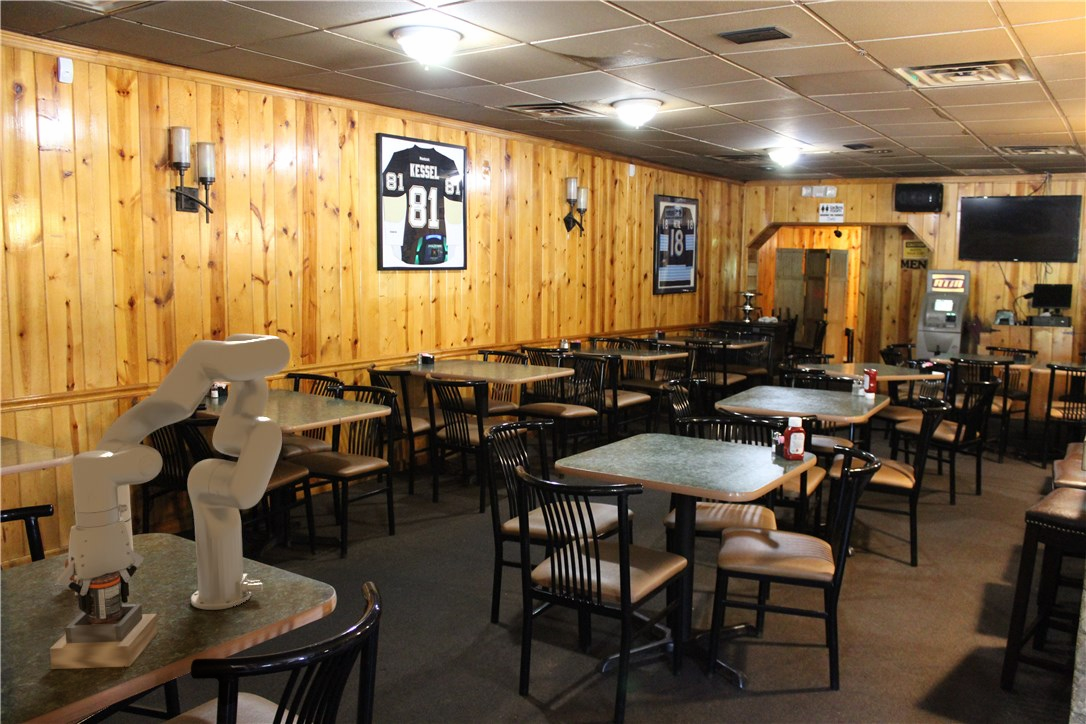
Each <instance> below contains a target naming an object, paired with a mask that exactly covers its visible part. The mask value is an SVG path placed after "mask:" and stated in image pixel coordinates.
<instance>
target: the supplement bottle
mask: <svg viewBox="0 0 1086 724" xmlns="http://www.w3.org/2000/svg"><path fill="white" fill-rule="evenodd" d="M88 593H89V594H90V595H91V608H92V613H91V614H88V619H89V621H90V622H91V623H94V624H105V623H110V622H113V621H115V620H117V619H119V618H120V617H121V616H122V605H123V602H122V597H121V583H120V574H119V572H112V573H106V574H104V575H102V576H99V577H96V578H93V579H91V581H90V585H89V588H88Z"/></svg>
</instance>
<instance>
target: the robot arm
mask: <svg viewBox="0 0 1086 724" xmlns="http://www.w3.org/2000/svg"><path fill="white" fill-rule="evenodd" d="M290 358H291V351H290V347H289V345H288V344H287V342H286V341H285V340H283V339H282V338H281V337H278V336H275V335H268V334H267V335H266V334H264V335H263V334H256V333H255V334H252V333H233V334H231V335H229V336H227V337H225V338H224V340H222V341H221V340H211V339H209V340H208V339H204V340H197V341H194V342H193V343H191V344H190V345H189V346H188V347H187V348H186V349H185V350H184V352H183V353H182V355H181V356H180V357H179V359H178V360H177V361H176V363H175V364H174V365H173V367H172V368H171V370H170V371H169V372H168V373H167V375H166V376H165V377H164V379H163V380H162V381H161V383H160V384H159V386H158V387H157V388H156V390H155V391H154V392H152V394H151V395H149V396H147V397H145V398H144V399H142V400H140V401H139V402H137V403H136V404H135V405H133V406H132V407H130V408H129V409H128V410H126V411H125V412H124V413H122V414H121V415H120V416H119V417H118V418H117V419H115V421H113V423H112V424H111V425H110V426H109V428H108V429H107V430H106V432H105V433H104V434H103V436H102V437H101V438H100V439H99V441H98V442H97V445H96V447H95V448H94V450H91V451H85V452H84V451H83V452H81V453H78V454H76V455H74V456H73V458H72V459H71V463H70V465H71V468H70V469H71V479H72V491H73V503H74V504H73V505H74V514H75V515H74V517H75V518H74V519H75V525H71V528H70V533H69V542H68V558H69V565H68V566H67V568H66V569H63V571H62V573H61V574H60V575H59V576H58V578H57V581H56V582H58V583H59V584H61V585H63V586H64V587H66V588H68V589H69V588H70V589H72V590H71V591H74V593H75V592H77V593H78V596H77V602H78V609H79V611H81V612H84V613H86V614H87V615H88V614H91V613H92V608H91V595H90V594H89V593H88V588H89V585H90V581H91V579H93V578H96V577H99V576H102V575H104V574H106V573H112V572H119V574H120V583H121V597H122V604H126V603H128V597H129V596H130V588H129V587H130V586H129V582H131V579H132V577H133V576H134V574H135V572H137V570H138V567H140V565H141V564H142V563H143V561H144V560H145V558H144V557H143V556H142V555H141V554H139V552H138V553H137V552H136V551H135V550H134V549H133V550H131V546H130V540H129V536H128V532H127V528H126V524H125V521H124V519H123V518H122V517H121V513H122V512H124V511H127V506H126V504H124V505H121V504H119V490H118V487H119V486H123V485H129V486H130V485H139V484H144V483H147V482H149V481H151V480H153V479H155V478H156V477H157V476H158V475H159V473H160V472H161V470H162V469H163V468H162V467H163V458H162V456H161V455H162V454H160V452H159V451H158V450H157V449H155V448H154V447H151V446H149V445H146V444H141V442H142V441H143V440H144V439H145V438H146V437H147V436H149V435H151V434H152V433H154V432H155V431H156V430H159V429H160V428H163V427H165V426H169V425H172V424H175V423H178V422H181V421H183V420H185V419H187V418H189V417H191V416H192V415H193V414H194V413H195V411H196V410H197V408H198V406H199V405H200V404H201V402H202V401H203V399H204V398H205V396H206V395H207V394H208V392H209V391H210V389H211V388H212V387H213V385H214V384H215V382H224V383H230V385H229V386H230V388H229V391H228V395H227V399H226V402H225V404H224V406H223V408H222V410H221V413H220V416H219V419H218V420H217V424H216V426H215V428H214V431H213V435H212V438H211V439H212V441H211V442H212V446H213V448H214V449H215V450H216V451H218V452H219V453H221V454H224V455H226V456H227V455H228V456H231V457H236V458H238V460H237V461H232V460H226V459H220V458H207V459H203V460H201V461H198V462H197V463H196V464H194V465H193V466H192V468H191V469H190V471H189V473H188V477H187V491H188V496H189V500H190V503H191V507H192V511H193V519H194V520H193V522H194V536H195V538H194V540H195V553H196V554H195V555H196V575H197V590H196V591H195V592H194V593H193V594H192V595H191V596H190V602H191V603H190V604H191V605H192V606H193V607H195V608H197V609H200V610H208V611H210V610H211V611H213V610H214V611H215V610H225V609H229V608H230V609H231V608H233V606H234V607H237V606H239V605H241V603H242V604H244V603H245V602H247V601H249V599H250V598H251V597H250V596H252V595H253V593H262V592H263V591H264V583H263V582H261V580H260V579H254V580H250V579H249V578H248V573H244V559H243V556H244V555H243V537H242V535H243V533H242V520H241V514H240V510H247V509H251V508H253V507H254V506H256V505H257V504H258V503H259V502H260V500H261V499H262V498H263V497H264V494H265V492H266V490H267V487H268V485H269V482H270V479H271V477H272V475H273V473H274V469H275V467H276V464H277V461H278V459H279V455H280V453H281V450H282V446H283V445H282V444H283V434H282V432H283V431H282V430H281V427H280V425H279V424H278V423H277V421H275V420H274V419H272V418H269V417H266V416H264V415H265V411H266V408H267V405H268V402H269V396H270V393H269V386H268V383H267V382H268V381H267V379H266V377H270V376H274V375H277V374H280V373H281V372H282V371H283V370H284V369H285V368H286V367H287V366H288V365H289V362H290ZM72 575H77V577H78V580H77V583H74V582H73V580H72V581H71V580H70V577H71V576H72ZM251 594H252V595H251ZM246 600H247V601H246ZM243 602H244V603H243ZM236 605H237V606H236Z"/></svg>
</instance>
